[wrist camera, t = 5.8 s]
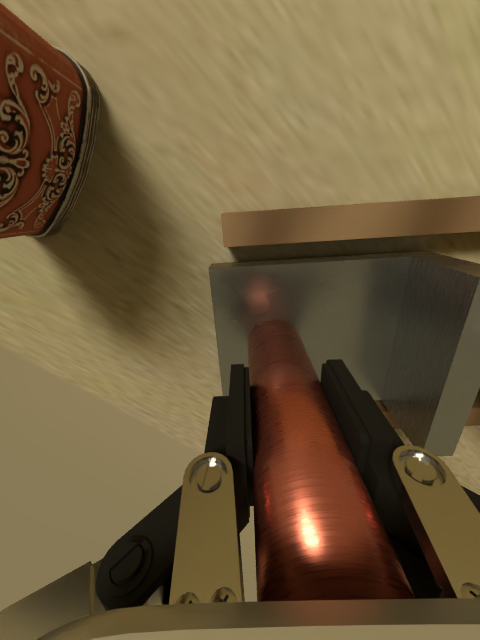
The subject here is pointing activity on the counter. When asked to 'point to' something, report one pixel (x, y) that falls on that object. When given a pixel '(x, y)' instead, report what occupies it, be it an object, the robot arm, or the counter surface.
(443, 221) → the bench clamp
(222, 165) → the counter surface
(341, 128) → the counter surface
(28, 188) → the lighter
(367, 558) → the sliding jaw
